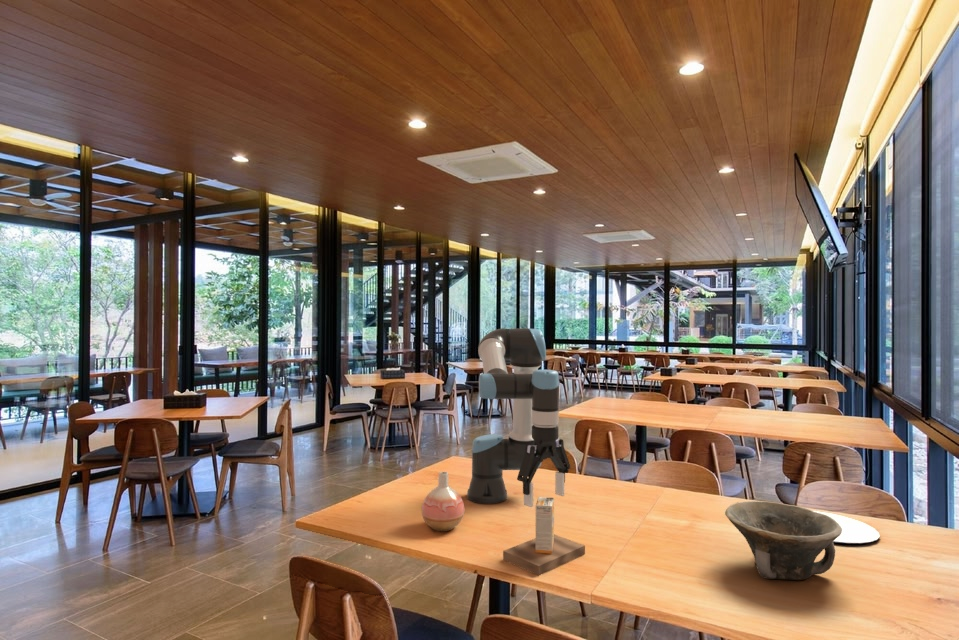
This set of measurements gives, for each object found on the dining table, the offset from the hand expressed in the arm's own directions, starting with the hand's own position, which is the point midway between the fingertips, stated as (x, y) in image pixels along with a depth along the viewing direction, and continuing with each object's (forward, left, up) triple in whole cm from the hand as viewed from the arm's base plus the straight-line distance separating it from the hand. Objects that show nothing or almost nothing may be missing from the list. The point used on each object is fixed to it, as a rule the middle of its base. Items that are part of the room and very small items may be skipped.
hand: (544, 500), depth 153 cm
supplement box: (0, 0, -13) cm, 13 cm away
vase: (+7, -36, -16) cm, 40 cm away
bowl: (-39, +49, -16) cm, 64 cm away
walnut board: (0, 0, -16) cm, 16 cm away
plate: (-84, +47, -16) cm, 97 cm away
